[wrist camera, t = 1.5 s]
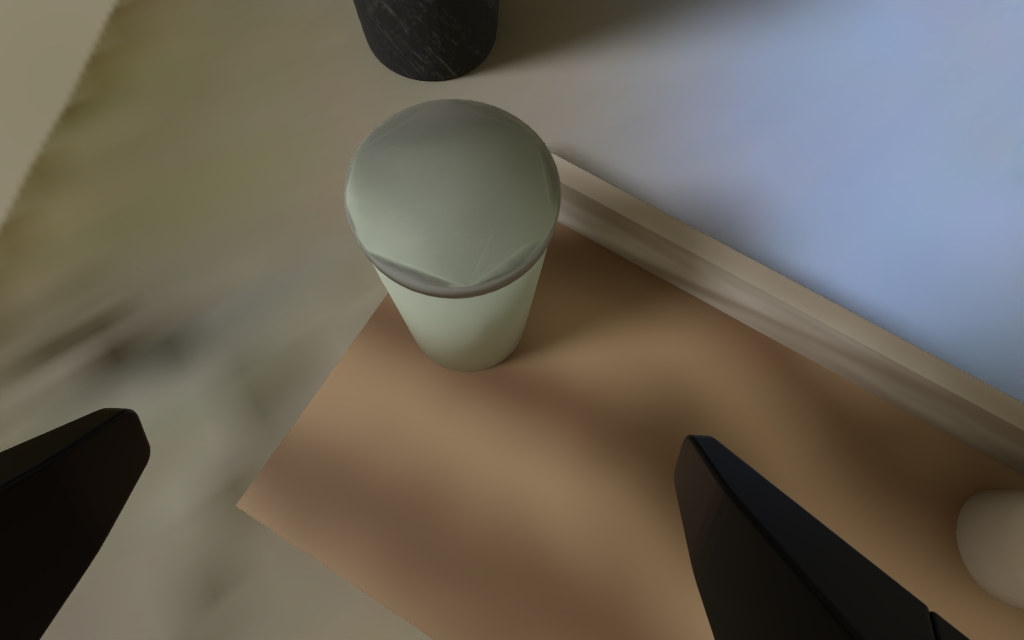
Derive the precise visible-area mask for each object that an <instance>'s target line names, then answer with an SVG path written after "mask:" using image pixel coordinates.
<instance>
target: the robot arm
mask: <svg viewBox="0 0 1024 640" xmlns="http://www.w3.org/2000/svg"><path fill="white" fill-rule="evenodd" d="M149 457H150V445H149V442H148V440H147V437H146V435H145V432H144V429H143V427H142V424H141V422H140V419H139V417H138V415H137V413H136V412H134V411H133V410H131V409H123V408H104V409H100V410H97V411H95V412H93V413H90V414H88V415H86V416H83V417H81V418H79V419H77V420H74V421H72V422H70V423H67V424H65V425H63V426H60V427H58V428H56V429H53V430H51V431H49V432H46V433H44V434H42V435H39V436H37V437H35V438H32V439H30V440H28V441H25V442H23V443H21V444H19V445H16V446H14V447H12V448H9V449H7V450H5V451H2V452H0V640H40V639H41V637H42V636H43V634H44V633H45V631H46V630H47V628H48V627H49V625H50V624H51V622H52V621H53V619H54V618H55V616H56V615H57V613H58V612H59V610H60V609H61V607H62V606H63V604H64V603H65V601H66V600H67V598H68V597H69V595H70V594H71V593H72V591H73V590H74V588H75V587H76V585H77V584H78V582H79V581H80V579H81V578H82V576H83V575H84V573H85V572H86V570H87V569H88V567H89V566H90V564H91V563H92V561H93V559H94V558H95V556H96V555H97V553H98V552H99V550H100V548H101V547H102V545H103V543H104V541H105V540H106V538H107V536H108V534H109V533H110V531H111V529H112V527H113V525H114V523H115V522H116V520H117V518H118V516H119V514H120V512H121V511H122V509H123V507H124V505H125V503H126V502H127V500H128V498H129V496H130V494H131V492H132V491H133V489H134V487H135V485H136V483H137V481H138V480H139V478H140V476H141V474H142V472H143V470H144V469H145V467H146V465H147V463H148V460H149ZM674 486H675V491H676V496H677V500H678V505H679V510H680V515H681V519H682V524H683V529H684V533H685V538H686V543H687V548H688V552H689V557H690V561H691V566H692V570H693V574H694V577H695V580H696V584H697V587H698V590H699V593H700V596H701V600H702V603H703V606H704V609H705V612H706V615H707V618H708V621H709V624H710V627H711V630H712V633H713V636H714V640H970V639H969V638H968V637H966V636H965V635H964V634H962V633H961V632H960V631H959V630H957V629H956V628H955V627H954V626H952V625H951V624H950V623H948V622H947V621H946V620H945V619H943V618H942V617H941V616H940V615H938V614H937V613H936V612H934V611H929V609H928V607H927V605H925V604H924V603H923V602H922V601H920V600H919V599H918V598H917V597H915V596H914V595H913V594H912V593H910V592H909V591H908V590H906V589H905V588H904V587H903V586H901V585H900V584H899V583H898V582H896V581H895V580H894V579H893V578H891V577H890V576H889V575H887V574H886V573H885V572H884V571H882V570H881V569H880V568H879V567H877V566H876V565H875V564H874V563H872V562H871V561H870V560H868V559H867V558H866V557H865V556H863V555H862V554H861V553H860V552H858V551H857V550H856V549H855V548H853V547H852V546H851V545H849V544H848V543H847V542H846V541H844V540H843V539H842V538H841V537H839V536H838V535H837V534H836V533H834V532H833V531H832V530H830V529H829V528H828V527H827V526H825V525H824V524H823V523H822V522H820V521H819V520H818V519H817V518H815V517H814V516H813V515H811V514H810V513H809V512H808V511H806V510H805V509H804V508H803V507H801V506H800V505H799V504H798V503H796V502H795V501H794V500H792V499H791V498H790V497H789V496H787V495H786V494H785V493H784V492H782V491H781V490H780V489H779V488H777V487H776V486H775V485H774V484H772V483H771V482H770V481H768V480H767V479H766V478H765V477H763V476H762V475H761V474H760V473H758V472H757V471H756V470H755V469H753V468H752V467H751V466H749V465H748V464H747V463H746V462H744V461H743V460H742V459H741V458H739V457H738V456H737V455H736V454H734V453H733V452H732V451H730V450H729V449H728V448H727V447H725V446H724V445H723V444H722V443H720V442H719V441H718V440H717V439H715V438H714V437H712V436H709V435H687V436H686V437H685V438H684V440H683V442H682V446H681V449H680V452H679V456H678V459H677V462H676V466H675V469H674Z"/></svg>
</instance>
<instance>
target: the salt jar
mask: <svg viewBox="0 0 1024 640" xmlns="http://www.w3.org/2000/svg"><path fill="white" fill-rule="evenodd" d="M956 535H957V543H958V548H959V551H960V555H961V557H962V560H963V562H964V564H965V566H966V568H967V570H968V571H969V573H970V574H971V576H972V577H973V579H974V580H975V581H976V582H977V584H978V585H979V586H980V587H981V588H982V589H983V590H984V591H985V592H987V593H988V594H989V595H990V596H992V597H993V598H995V599H996V600H998V601H999V602H1001V603H1003V604H1005V605H1008V606H1011V607H1014V608H1018V609H1021V610H1024V490H1020V489H996V488H995V489H987V490H983V491H980V492H978V493H976V494H974V495H973V496H971V497H970V498H969V499H968V500H967V501H966V502H965V504H964V505H963V507H962V509H961V511H960V513H959V516H958V520H957V528H956Z"/></svg>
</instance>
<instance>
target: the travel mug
mask: <svg viewBox="0 0 1024 640" xmlns="http://www.w3.org/2000/svg"><path fill="white" fill-rule="evenodd" d="M353 1H354V4H355V7H356V10H357V13H358V16H359V19H360V22H361V25H362V28H363V31H364V34H365V37H366V39H367V42H368V44H369V46H370V48H371V50H372V51H373V53H374V54H375V56H376V57H377V58H378V59H379V61H380V62H381V63H383V64H384V65H385V66H386V67H387V68H389V69H390V70H392V71H394V72H396V73H398V74H400V75H402V76H405V77H408V78H412V79H416V80H423V81H440V80H447V79H452V78H455V77H458V76H461V75H463V74H465V73H467V72H469V71H471V70H472V69H474V68H475V67H477V66H478V65H479V64H480V63H481V62H482V61H483V60H484V59H485V58H486V57H487V55H488V54H489V52H490V51H491V49H492V46H493V44H494V41H495V38H496V31H497V21H498V7H499V0H353Z"/></svg>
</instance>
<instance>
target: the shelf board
mask: <svg viewBox="0 0 1024 640" xmlns="http://www.w3.org/2000/svg"><path fill="white" fill-rule="evenodd" d="M550 153H551V152H550ZM551 154H552V157H553V159H554V161H555V163H556V166H557V169H558V173H559V176H560V183H561V205H560V212H559V216H558V219H557V223H556V226H555V229H554V233H553V236H552V238H551V240H550V242H549V244H548V247H547V251H546V254H545V258H544V262H543V265H542V269H541V272H540V276H539V279H538V283H537V286H536V290H535V294H534V297H533V301H532V304H531V308H530V311H529V315H528V319H527V322H526V326H525V329H524V332H523V335H522V338H521V340H520V342H519V344H518V345H517V347H516V348H515V350H514V351H513V352H512V353H511V354H510V355H509V356H508V357H507V358H506V359H505V360H503V361H502V362H500V363H499V364H497V365H495V366H493V367H491V368H488V369H485V370H481V371H476V372H459V371H454V370H450V369H447V368H444V367H442V366H440V365H438V364H437V363H435V362H434V361H432V360H431V359H430V358H428V357H427V356H426V355H425V354H424V353H423V351H422V350H421V349H420V347H419V346H418V344H417V343H416V341H415V339H414V337H413V336H412V334H411V332H410V330H409V328H408V327H407V325H406V323H405V321H404V319H403V318H402V316H401V314H400V312H399V310H398V309H397V307H396V305H395V303H394V301H393V300H392V298H391V296H390V294H389V293H388V294H387V296H386V297H385V298H384V300H383V301H382V303H381V304H380V305H379V307H378V308H377V309H376V311H375V312H374V314H373V315H372V316H371V318H370V319H369V321H368V322H367V323H366V325H365V326H364V328H363V329H362V330H361V332H360V333H359V335H358V336H357V337H356V339H355V340H354V342H353V343H352V344H351V346H350V347H349V349H348V350H347V351H346V353H345V354H344V355H343V357H342V358H341V360H340V361H339V362H338V364H337V365H336V367H335V368H334V369H333V371H332V372H331V374H330V375H329V376H328V378H327V379H326V381H325V382H324V383H323V385H322V386H321V388H320V389H319V390H318V392H317V393H316V395H315V396H314V397H313V399H312V400H311V401H310V403H309V404H308V406H307V407H306V408H305V410H304V411H303V413H302V414H301V415H300V417H299V418H298V420H297V421H296V422H295V424H294V425H293V427H292V428H291V429H290V431H289V432H288V434H287V435H286V436H285V438H284V439H283V441H282V442H281V443H280V445H279V446H278V448H277V449H276V450H275V452H274V453H273V454H272V456H271V457H270V459H269V460H268V461H267V463H266V464H265V466H264V467H263V468H262V470H261V471H260V473H259V474H258V475H257V477H256V478H255V480H254V481H253V482H252V484H251V485H250V487H249V488H248V489H247V491H246V492H245V494H244V495H243V496H242V498H241V499H240V500H239V502H238V503H237V505H236V507H238V508H239V509H241V510H242V511H244V512H245V513H247V514H248V515H250V516H251V517H253V518H254V519H256V520H257V521H259V522H260V523H262V524H263V525H265V526H266V527H268V528H269V529H271V530H272V531H274V532H275V533H277V534H278V535H280V536H281V537H283V538H284V539H286V540H287V541H288V542H290V543H291V544H293V545H294V546H296V547H297V548H299V549H300V550H302V551H303V552H305V553H306V554H308V555H309V556H311V557H312V558H314V559H315V560H317V561H318V562H320V563H321V564H323V565H324V566H326V567H327V568H329V569H330V570H332V571H333V572H335V573H336V574H338V575H339V576H340V577H342V578H343V579H345V580H346V581H348V582H349V583H351V584H352V585H354V586H355V587H357V588H358V589H360V590H361V591H363V592H364V593H366V594H367V595H369V596H370V597H372V598H373V599H375V600H376V601H378V602H379V603H381V604H382V605H384V606H385V607H387V608H388V609H390V610H391V611H392V612H394V613H395V614H397V615H398V616H400V617H401V618H403V619H404V620H406V621H407V622H409V623H410V624H412V625H413V626H415V627H416V628H418V629H419V630H421V631H422V632H424V633H425V634H427V635H428V636H430V637H431V638H433V639H434V640H714V636H713V633H712V630H711V627H710V624H709V621H708V618H707V615H706V612H705V609H704V606H703V603H702V600H701V596H700V593H699V590H698V587H697V584H696V580H695V577H694V574H693V570H692V566H691V561H690V557H689V552H688V548H687V543H686V538H685V533H684V529H683V524H682V519H681V515H680V510H679V505H678V500H677V496H676V491H675V486H674V469H675V466H676V462H677V459H678V456H679V452H680V449H681V446H682V442H683V440H684V438H685V437H686V436H687V435H709V436H712V437H714V438H715V439H717V440H718V441H719V442H720V443H722V444H723V445H724V446H725V447H727V448H728V449H729V450H730V451H732V452H733V453H734V454H736V455H737V456H738V457H739V458H741V459H742V460H743V461H744V462H746V463H747V464H748V465H749V466H751V467H752V468H753V469H755V470H756V471H757V472H758V473H760V474H761V475H762V476H763V477H765V478H766V479H767V480H768V481H770V482H771V483H772V484H774V485H775V486H776V487H777V488H779V489H780V490H781V491H782V492H784V493H785V494H786V495H787V496H789V497H790V498H791V499H792V500H794V501H795V502H796V503H798V504H799V505H800V506H801V507H803V508H804V509H805V510H806V511H808V512H809V513H810V514H811V515H813V516H814V517H815V518H817V519H818V520H819V521H820V522H822V523H823V524H824V525H825V526H827V527H828V528H829V529H830V530H832V531H833V532H834V533H836V534H837V535H838V536H839V537H841V538H842V539H843V540H844V541H846V542H847V543H848V544H849V545H851V546H852V547H853V548H855V549H856V550H857V551H858V552H860V553H861V554H862V555H863V556H865V557H866V558H867V559H868V560H870V561H871V562H872V563H874V564H875V565H876V566H877V567H879V568H880V569H881V570H882V571H884V572H885V573H886V574H887V575H889V576H890V577H891V578H893V579H894V580H895V581H896V582H898V583H899V584H900V585H901V586H903V587H904V588H905V589H906V590H908V591H909V592H910V593H912V594H913V595H914V596H915V597H917V598H918V599H919V600H920V601H922V602H923V603H924V604H925V605H927V607H928V609H929V611H934V612H936V613H937V614H938V615H940V616H941V617H942V618H943V619H945V620H946V621H947V622H948V623H950V624H951V625H952V626H954V627H955V628H956V629H957V630H959V631H960V632H961V633H962V634H964V635H965V636H966V637H968V638H969V639H970V640H1024V610H1021V609H1018V608H1014V607H1011V606H1008V605H1005V604H1003V603H1001V602H999V601H998V600H996V599H995V598H993V597H992V596H990V595H989V594H988V593H987V592H985V591H984V590H983V589H982V588H981V587H980V586H979V585H978V584H977V582H976V581H975V580H974V579H973V577H972V576H971V574H970V573H969V571H968V570H967V568H966V566H965V564H964V562H963V560H962V557H961V555H960V551H959V548H958V543H957V535H956V528H957V520H958V516H959V513H960V511H961V509H962V507H963V505H964V504H965V502H966V501H967V500H968V499H969V498H970V497H971V496H973V495H974V494H976V493H978V492H980V491H983V490H987V489H995V488H996V489H1020V490H1024V403H1022V402H1020V401H1018V400H1016V399H1014V398H1013V397H1011V396H1009V395H1007V394H1005V393H1003V392H1001V391H999V390H997V389H996V388H994V387H992V386H990V385H988V384H986V383H984V382H982V381H981V380H979V379H977V378H975V377H973V376H971V375H969V374H967V373H965V372H964V371H962V370H960V369H958V368H956V367H954V366H952V365H950V364H948V363H947V362H945V361H943V360H941V359H939V358H937V357H935V356H933V355H932V354H930V353H928V352H926V351H924V350H922V349H920V348H918V347H916V346H915V345H913V344H911V343H909V342H907V341H905V340H903V339H901V338H899V337H898V336H896V335H894V334H892V333H890V332H888V331H886V330H884V329H882V328H881V327H879V326H877V325H875V324H873V323H871V322H869V321H867V320H866V319H864V318H862V317H860V316H858V315H856V314H854V313H852V312H850V311H849V310H847V309H845V308H843V307H841V306H839V305H837V304H835V303H833V302H832V301H830V300H828V299H826V298H824V297H822V296H820V295H818V294H817V293H815V292H813V291H811V290H809V289H807V288H805V287H803V286H801V285H800V284H798V283H796V282H794V281H792V280H790V279H788V278H786V277H784V276H783V275H781V274H779V273H777V272H775V271H773V270H771V269H769V268H767V267H766V266H764V265H762V264H760V263H758V262H756V261H754V260H752V259H751V258H749V257H747V256H745V255H743V254H741V253H739V252H737V251H735V250H734V249H732V248H730V247H728V246H726V245H724V244H722V243H720V242H718V241H717V240H715V239H713V238H711V237H709V236H707V235H705V234H703V233H702V232H700V231H698V230H696V229H694V228H692V227H690V226H688V225H686V224H685V223H683V222H681V221H679V220H677V219H675V218H673V217H671V216H669V215H668V214H666V213H664V212H662V211H660V210H658V209H656V208H654V207H652V206H651V205H649V204H647V203H645V202H643V201H641V200H639V199H637V198H636V197H634V196H632V195H630V194H628V193H626V192H624V191H622V190H620V189H619V188H617V187H615V186H613V185H611V184H609V183H607V182H605V181H603V180H602V179H600V178H598V177H596V176H594V175H592V174H590V173H588V172H586V171H585V170H583V169H581V168H579V167H577V166H575V165H573V164H571V163H570V162H568V161H566V160H564V159H562V158H560V157H558V156H556V155H554V154H553V153H551Z"/></svg>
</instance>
